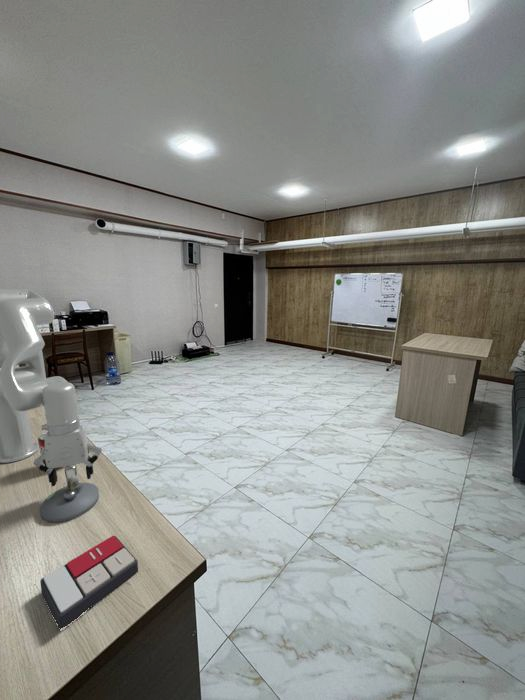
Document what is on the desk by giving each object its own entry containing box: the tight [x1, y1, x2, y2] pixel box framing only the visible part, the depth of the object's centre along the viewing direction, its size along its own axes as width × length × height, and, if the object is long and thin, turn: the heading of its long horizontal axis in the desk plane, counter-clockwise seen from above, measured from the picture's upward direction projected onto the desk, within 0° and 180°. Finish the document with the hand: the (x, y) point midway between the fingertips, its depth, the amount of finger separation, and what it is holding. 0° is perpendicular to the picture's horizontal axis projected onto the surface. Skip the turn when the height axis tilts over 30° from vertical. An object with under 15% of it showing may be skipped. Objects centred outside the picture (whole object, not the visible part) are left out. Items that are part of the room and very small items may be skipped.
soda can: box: [37, 431, 65, 472], centre depth 99 cm, size 7×7×12 cm
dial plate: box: [39, 482, 100, 524], centre depth 84 cm, size 14×14×2 cm
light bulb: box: [63, 464, 80, 501], centre depth 85 cm, size 8×3×7 cm, turn 22°
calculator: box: [40, 535, 139, 629], centre depth 62 cm, size 11×4×15 cm
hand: (72, 479), depth 87 cm, fingers open, 8 cm apart
